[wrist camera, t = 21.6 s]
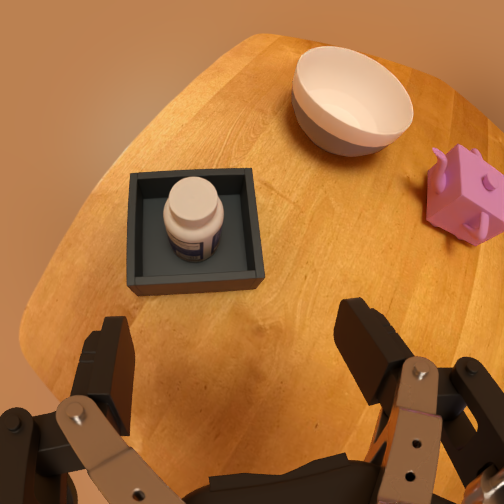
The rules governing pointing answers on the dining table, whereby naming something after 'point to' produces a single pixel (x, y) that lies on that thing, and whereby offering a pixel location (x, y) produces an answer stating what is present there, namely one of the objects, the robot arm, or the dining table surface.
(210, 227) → the pill bottle
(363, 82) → the bowl
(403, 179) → the dining table surface
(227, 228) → the tub
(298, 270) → the dining table surface
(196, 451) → the dining table surface
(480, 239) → the teapot
